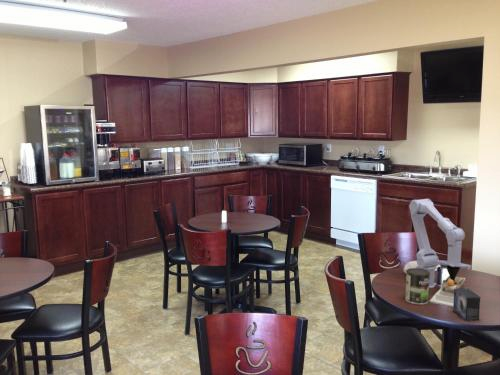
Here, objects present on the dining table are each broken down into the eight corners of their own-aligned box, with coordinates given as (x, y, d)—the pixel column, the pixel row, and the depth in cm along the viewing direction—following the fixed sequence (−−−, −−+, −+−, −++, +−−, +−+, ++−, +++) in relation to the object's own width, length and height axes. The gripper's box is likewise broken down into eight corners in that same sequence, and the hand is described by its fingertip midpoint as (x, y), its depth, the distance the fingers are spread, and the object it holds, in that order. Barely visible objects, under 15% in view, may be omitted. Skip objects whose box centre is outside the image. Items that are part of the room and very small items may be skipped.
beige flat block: (435, 299, 214) (436, 294, 214) (440, 294, 220) (440, 289, 220) (456, 303, 209) (456, 298, 209) (460, 298, 215) (460, 293, 215)
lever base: (429, 302, 213) (430, 290, 212) (442, 286, 233) (443, 275, 232) (459, 308, 205) (460, 296, 204) (470, 292, 225) (471, 280, 224)
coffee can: (433, 302, 213) (435, 272, 211) (417, 306, 208) (418, 276, 206) (416, 294, 222) (417, 266, 220) (400, 298, 217) (401, 269, 215)
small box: (451, 310, 203) (453, 288, 202) (465, 310, 204) (467, 287, 202) (464, 321, 193) (466, 297, 191) (479, 320, 193) (481, 296, 192)
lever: (441, 293, 218) (441, 283, 217) (449, 283, 231) (450, 274, 230) (457, 297, 213) (457, 286, 213) (464, 286, 227) (465, 276, 226)
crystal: (413, 271, 246) (446, 265, 256) (405, 261, 251) (437, 256, 261) (407, 280, 250) (440, 274, 260) (399, 270, 255) (431, 265, 265)
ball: (446, 285, 216) (446, 279, 216) (447, 284, 219) (448, 278, 218) (453, 287, 214) (453, 281, 214) (454, 285, 217) (455, 279, 216)
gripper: (436, 253, 219) (434, 280, 221) (469, 258, 210) (467, 287, 212) (439, 250, 224) (438, 276, 226) (472, 254, 216) (470, 282, 218)
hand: (452, 281), depth 220 cm, fingers closed
